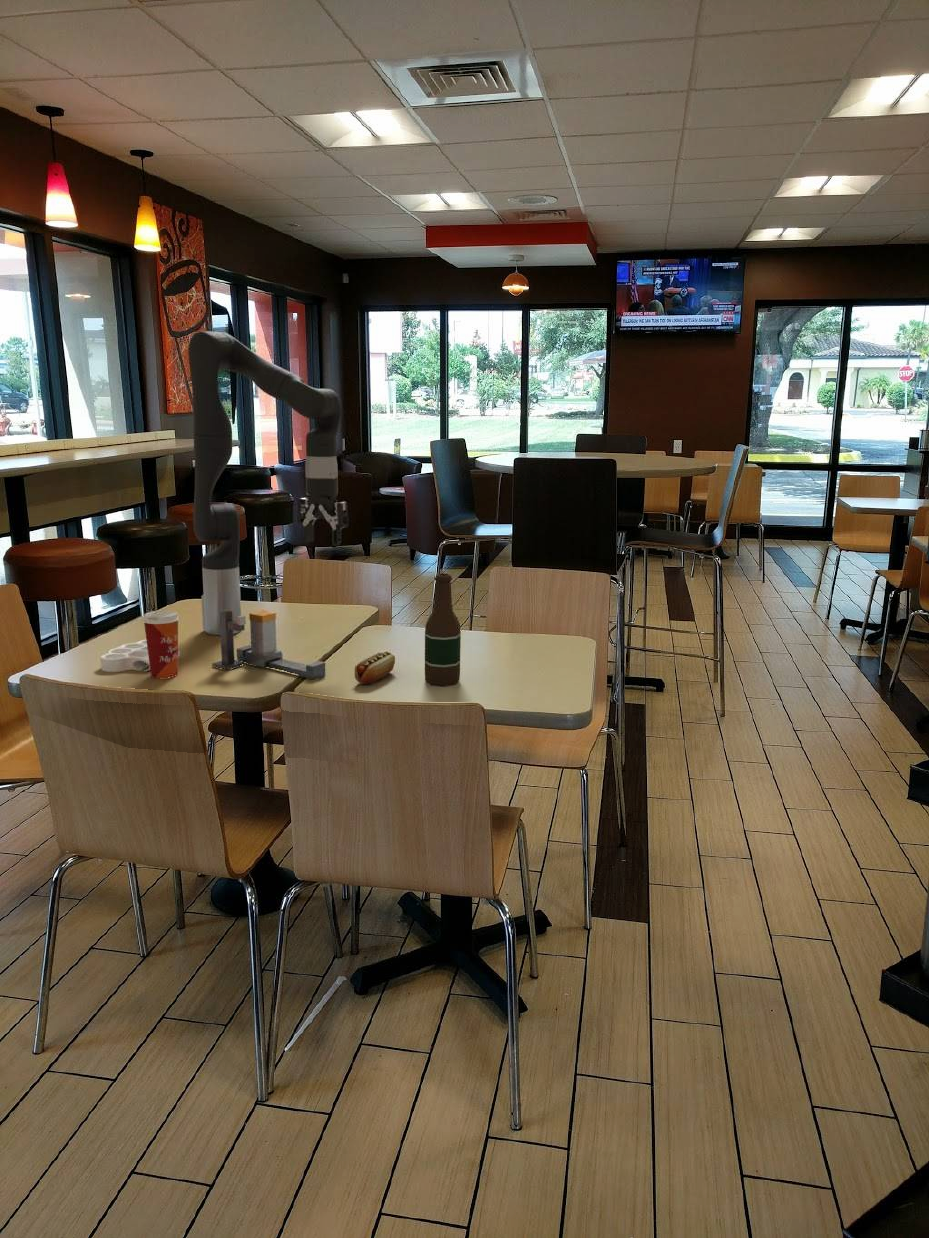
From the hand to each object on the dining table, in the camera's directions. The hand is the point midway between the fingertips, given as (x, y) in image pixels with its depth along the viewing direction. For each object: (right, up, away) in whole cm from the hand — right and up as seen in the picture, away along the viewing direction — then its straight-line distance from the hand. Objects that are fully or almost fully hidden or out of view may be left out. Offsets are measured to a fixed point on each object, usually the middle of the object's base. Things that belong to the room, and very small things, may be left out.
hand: (323, 543), depth 221 cm
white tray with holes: (-42, -29, -8) cm, 51 cm away
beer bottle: (+29, -32, -19) cm, 47 cm away
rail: (-8, -29, -11) cm, 32 cm away
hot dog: (+14, -32, -17) cm, 39 cm away
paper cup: (-32, -31, -17) cm, 48 cm away
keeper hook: (-19, -29, -11) cm, 37 cm away
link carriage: (-12, -29, -8) cm, 32 cm away
